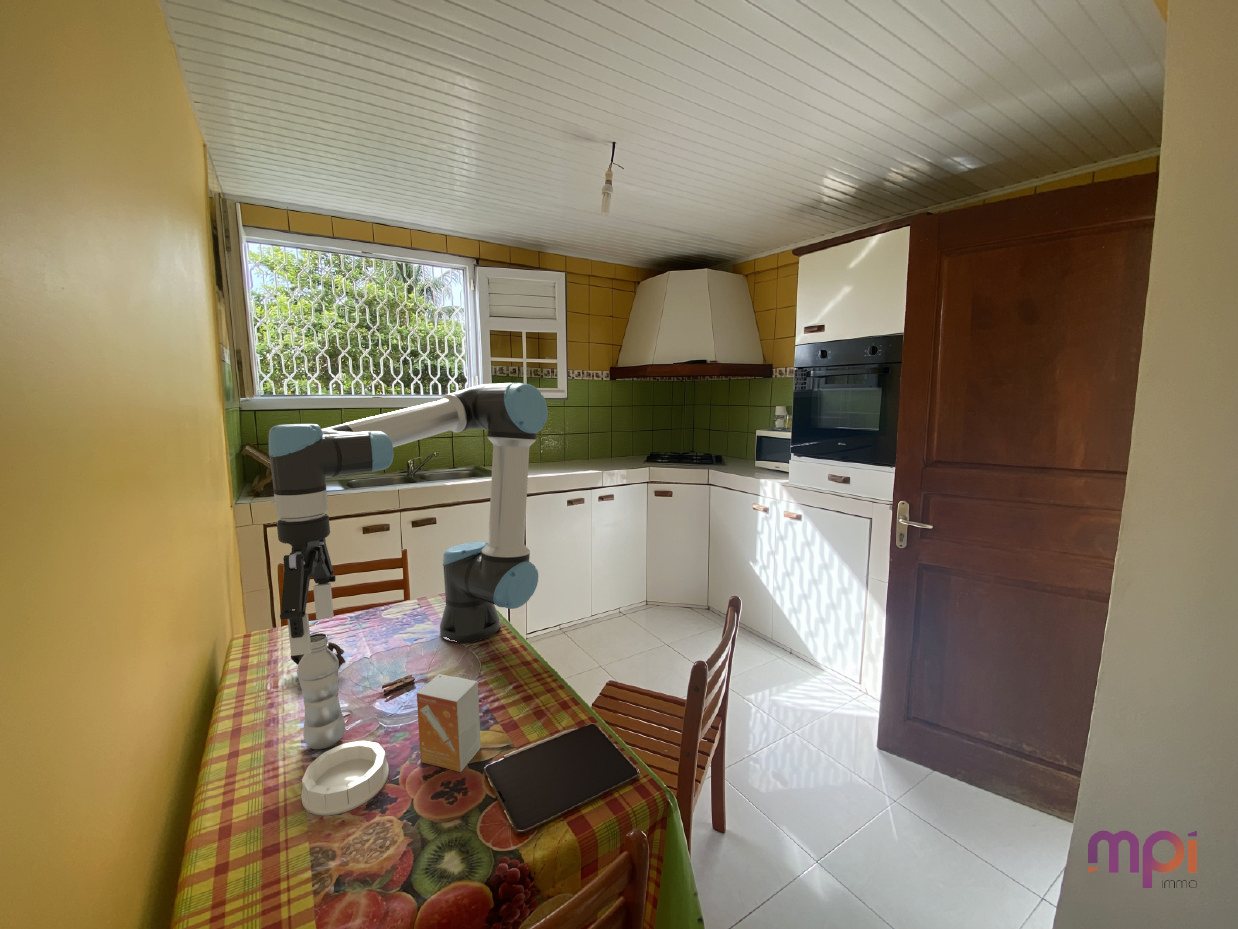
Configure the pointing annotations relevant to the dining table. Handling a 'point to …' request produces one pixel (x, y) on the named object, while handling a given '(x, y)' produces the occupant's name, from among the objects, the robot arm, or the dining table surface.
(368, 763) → the bowl
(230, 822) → the dining table surface
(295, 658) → the broken clay pot
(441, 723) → the small box
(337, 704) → the plastic bottle
